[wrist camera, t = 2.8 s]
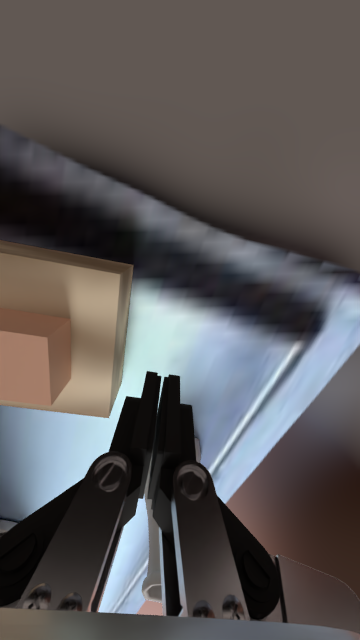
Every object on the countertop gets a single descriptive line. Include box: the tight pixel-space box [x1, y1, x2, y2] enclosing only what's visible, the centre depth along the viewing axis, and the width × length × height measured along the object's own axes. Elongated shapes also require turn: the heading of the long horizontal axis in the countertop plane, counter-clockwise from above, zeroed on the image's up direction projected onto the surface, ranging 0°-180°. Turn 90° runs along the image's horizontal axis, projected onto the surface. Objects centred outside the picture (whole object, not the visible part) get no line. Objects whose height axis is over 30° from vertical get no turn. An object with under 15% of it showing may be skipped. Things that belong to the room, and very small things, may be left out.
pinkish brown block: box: [0, 308, 71, 406], centre depth 12 cm, size 4×4×2 cm
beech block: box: [0, 240, 133, 418], centre depth 15 cm, size 11×16×4 cm
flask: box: [142, 438, 201, 603], centre depth 19 cm, size 7×7×10 cm
